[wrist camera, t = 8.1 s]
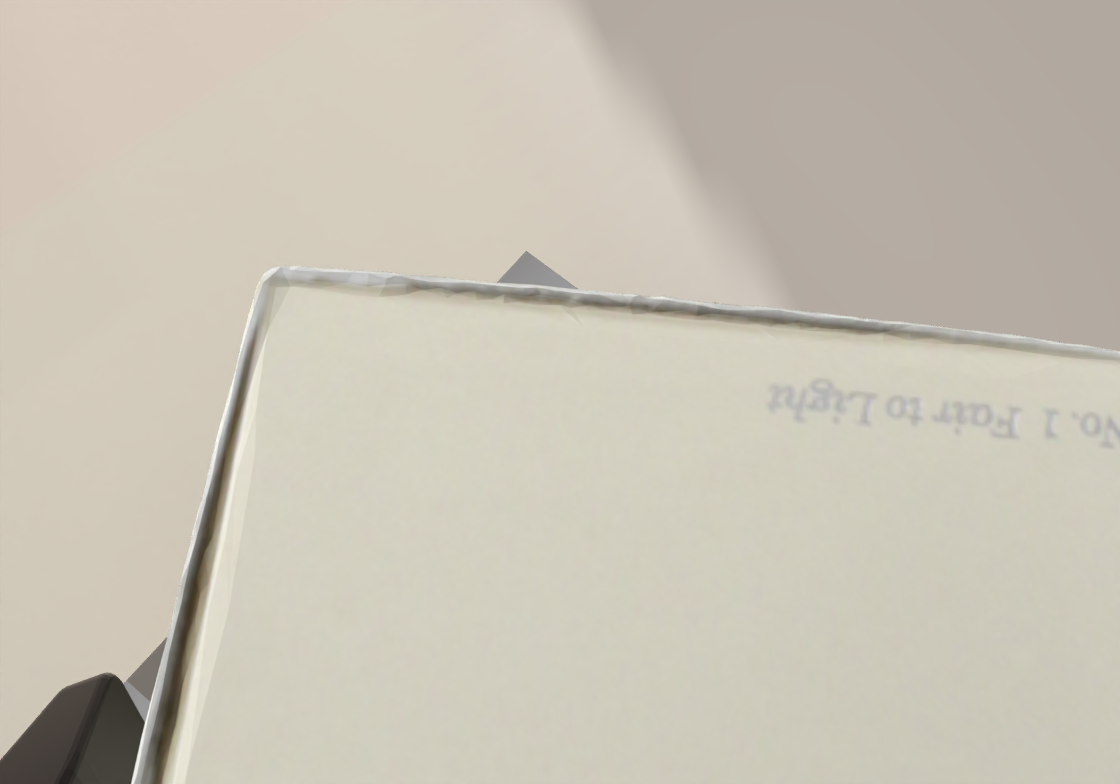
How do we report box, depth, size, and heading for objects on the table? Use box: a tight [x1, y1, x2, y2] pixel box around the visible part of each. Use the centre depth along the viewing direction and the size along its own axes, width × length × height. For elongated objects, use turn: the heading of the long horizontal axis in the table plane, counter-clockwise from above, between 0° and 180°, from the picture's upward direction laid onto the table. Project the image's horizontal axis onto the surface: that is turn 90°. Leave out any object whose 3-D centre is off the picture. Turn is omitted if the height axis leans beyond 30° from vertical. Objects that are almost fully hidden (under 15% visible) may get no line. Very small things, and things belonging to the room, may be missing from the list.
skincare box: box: [131, 266, 1120, 784], centre depth 11 cm, size 6×4×12 cm
